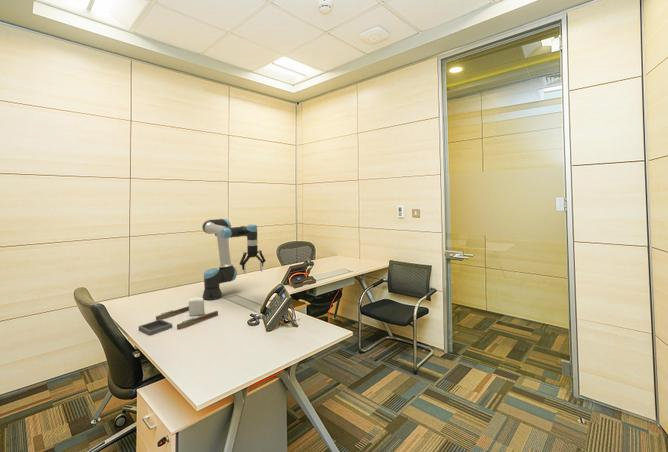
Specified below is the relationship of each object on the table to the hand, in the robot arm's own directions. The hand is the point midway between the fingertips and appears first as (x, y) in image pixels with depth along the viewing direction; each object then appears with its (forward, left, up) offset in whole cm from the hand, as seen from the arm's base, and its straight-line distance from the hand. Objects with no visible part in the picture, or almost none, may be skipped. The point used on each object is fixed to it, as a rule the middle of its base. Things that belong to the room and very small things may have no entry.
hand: (253, 272), depth 247 cm
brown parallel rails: (-19, -43, -26) cm, 54 cm away
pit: (-19, -65, -26) cm, 73 cm away
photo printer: (-19, -36, -26) cm, 48 cm away
